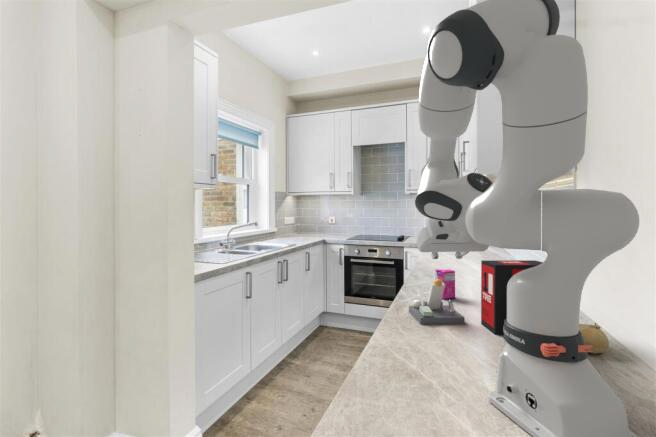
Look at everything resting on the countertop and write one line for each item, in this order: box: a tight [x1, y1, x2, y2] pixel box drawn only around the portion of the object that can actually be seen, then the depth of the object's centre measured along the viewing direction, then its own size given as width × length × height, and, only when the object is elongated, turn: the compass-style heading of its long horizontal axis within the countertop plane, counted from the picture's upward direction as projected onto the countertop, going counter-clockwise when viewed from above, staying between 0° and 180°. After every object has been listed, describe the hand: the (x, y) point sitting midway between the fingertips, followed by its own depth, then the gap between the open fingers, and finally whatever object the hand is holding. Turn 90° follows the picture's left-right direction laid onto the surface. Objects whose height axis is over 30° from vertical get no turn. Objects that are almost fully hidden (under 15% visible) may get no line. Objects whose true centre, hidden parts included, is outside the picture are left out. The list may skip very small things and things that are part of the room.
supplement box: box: [434, 268, 456, 301], centre depth 131 cm, size 6×6×12 cm
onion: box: [579, 322, 610, 355], centre depth 81 cm, size 8×8×7 cm
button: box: [412, 299, 423, 308], centre depth 111 cm, size 3×3×2 cm
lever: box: [426, 279, 445, 309], centre depth 106 cm, size 2×4×12 cm, turn 92°
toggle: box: [448, 299, 457, 313], centre depth 105 cm, size 1×2×4 cm, turn 92°
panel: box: [408, 300, 466, 325], centre depth 107 cm, size 13×14×5 cm
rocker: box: [419, 305, 432, 316], centre depth 103 cm, size 4×3×1 cm
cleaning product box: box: [480, 259, 544, 336], centre depth 95 cm, size 16×9×20 cm, turn 88°
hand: (446, 257), depth 97 cm, fingers open, 6 cm apart
